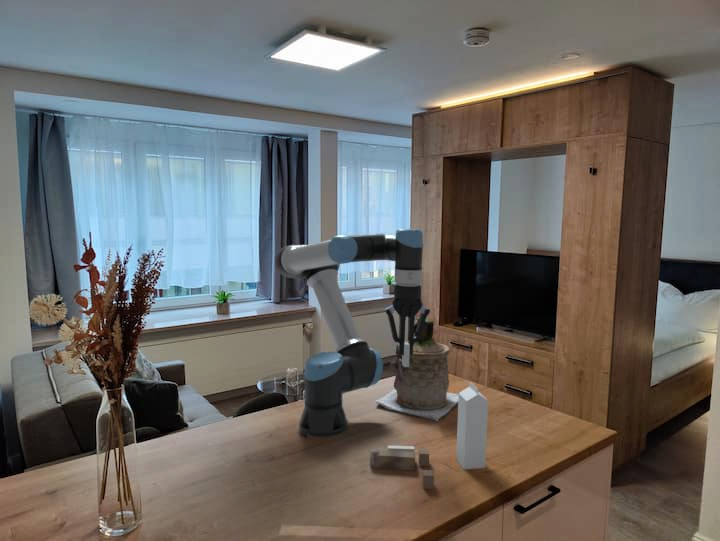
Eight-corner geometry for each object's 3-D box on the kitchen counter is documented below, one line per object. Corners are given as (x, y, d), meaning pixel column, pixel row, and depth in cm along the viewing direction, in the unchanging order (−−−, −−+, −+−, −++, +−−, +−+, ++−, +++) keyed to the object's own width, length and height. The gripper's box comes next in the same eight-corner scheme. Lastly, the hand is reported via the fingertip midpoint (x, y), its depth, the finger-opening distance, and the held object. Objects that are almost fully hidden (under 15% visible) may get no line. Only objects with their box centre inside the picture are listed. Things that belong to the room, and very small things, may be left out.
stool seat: (363, 494, 116) (363, 474, 115) (365, 462, 131) (365, 444, 130) (435, 497, 115) (435, 476, 114) (428, 464, 130) (429, 446, 129)
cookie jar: (465, 399, 176) (468, 313, 173) (438, 424, 156) (441, 326, 152) (404, 386, 189) (406, 305, 186) (372, 407, 169) (374, 317, 165)
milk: (476, 457, 134) (480, 380, 132) (485, 468, 129) (489, 388, 126) (455, 458, 134) (458, 381, 131) (463, 470, 128) (467, 389, 125)
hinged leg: (369, 467, 125) (369, 453, 125) (370, 461, 128) (370, 448, 128) (414, 470, 124) (415, 456, 124) (414, 464, 127) (415, 450, 127)
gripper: (387, 286, 131) (385, 370, 134) (434, 286, 133) (431, 369, 136) (382, 282, 139) (381, 361, 142) (427, 282, 140) (424, 361, 143)
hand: (405, 365), depth 139 cm, fingers closed
